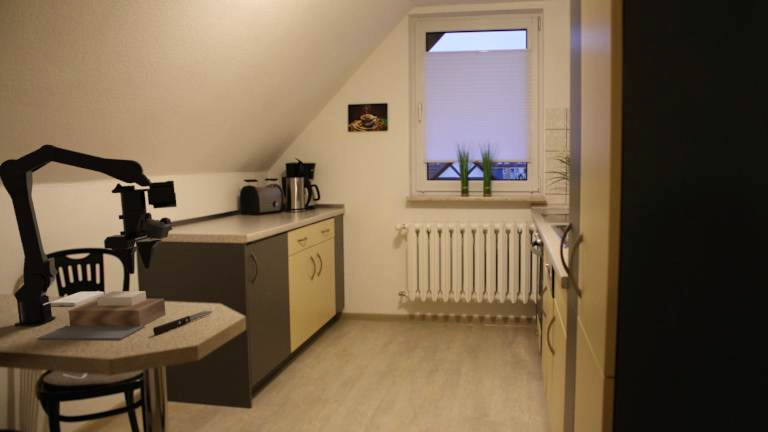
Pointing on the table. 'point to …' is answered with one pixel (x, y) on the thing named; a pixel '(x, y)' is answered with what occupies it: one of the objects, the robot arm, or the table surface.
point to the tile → (121, 298)
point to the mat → (92, 332)
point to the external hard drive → (76, 299)
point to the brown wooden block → (117, 314)
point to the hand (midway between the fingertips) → (139, 271)
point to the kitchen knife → (179, 322)
